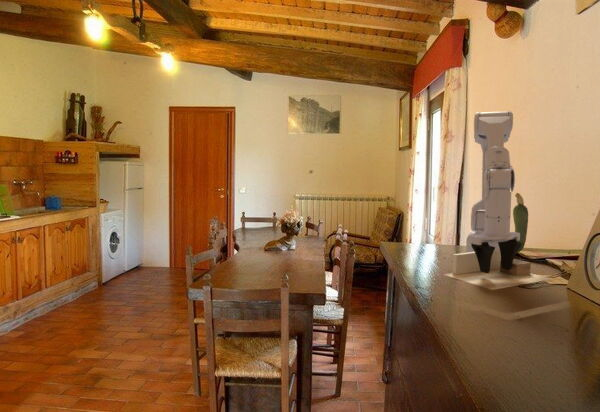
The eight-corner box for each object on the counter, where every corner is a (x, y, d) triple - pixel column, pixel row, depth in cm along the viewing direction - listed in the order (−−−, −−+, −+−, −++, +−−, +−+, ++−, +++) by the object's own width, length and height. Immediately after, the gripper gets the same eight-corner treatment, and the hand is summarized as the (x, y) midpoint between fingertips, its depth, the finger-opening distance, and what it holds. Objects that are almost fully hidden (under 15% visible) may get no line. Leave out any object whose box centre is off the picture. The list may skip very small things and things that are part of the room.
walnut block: (499, 271, 110) (500, 260, 110) (512, 269, 112) (513, 258, 112) (516, 276, 106) (517, 264, 105) (530, 274, 108) (530, 262, 107)
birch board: (443, 278, 108) (443, 274, 108) (500, 269, 117) (500, 265, 117) (491, 294, 94) (492, 289, 94) (552, 282, 103) (553, 278, 103)
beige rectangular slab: (452, 273, 109) (453, 254, 108) (496, 266, 116) (496, 248, 115) (456, 274, 108) (456, 255, 107) (500, 267, 114) (500, 249, 114)
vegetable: (525, 253, 139) (528, 192, 137) (527, 255, 134) (530, 193, 133) (510, 252, 140) (512, 192, 138) (512, 254, 136) (514, 193, 134)
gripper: (490, 220, 98) (487, 277, 99) (532, 217, 104) (529, 271, 105) (466, 217, 104) (464, 271, 105) (507, 214, 110) (505, 265, 112)
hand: (495, 270), depth 106 cm, fingers open, 7 cm apart
